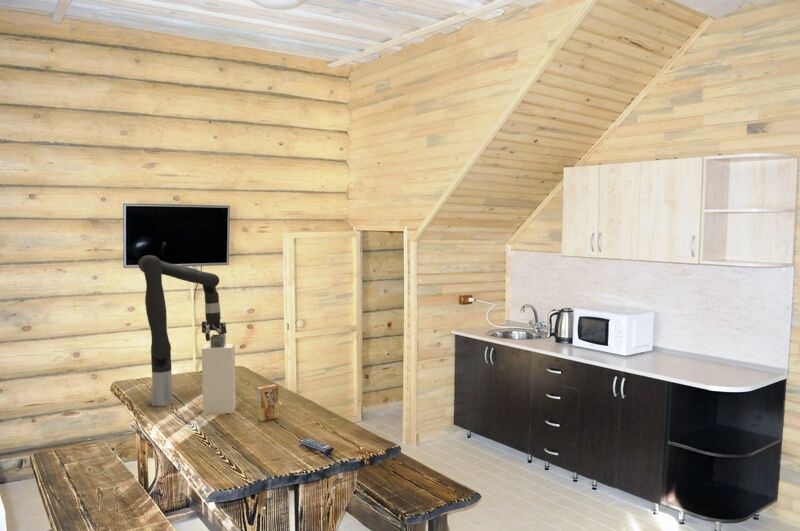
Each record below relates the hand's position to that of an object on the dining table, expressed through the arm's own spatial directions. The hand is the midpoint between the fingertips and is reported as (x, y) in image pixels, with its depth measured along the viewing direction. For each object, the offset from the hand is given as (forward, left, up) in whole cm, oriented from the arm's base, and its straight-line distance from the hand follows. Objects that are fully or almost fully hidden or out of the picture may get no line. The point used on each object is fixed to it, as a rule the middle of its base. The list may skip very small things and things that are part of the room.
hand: (214, 341), depth 332 cm
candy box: (+30, -43, -29) cm, 60 cm away
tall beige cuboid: (+6, -28, -29) cm, 41 cm away
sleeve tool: (+6, -23, +3) cm, 24 cm away
